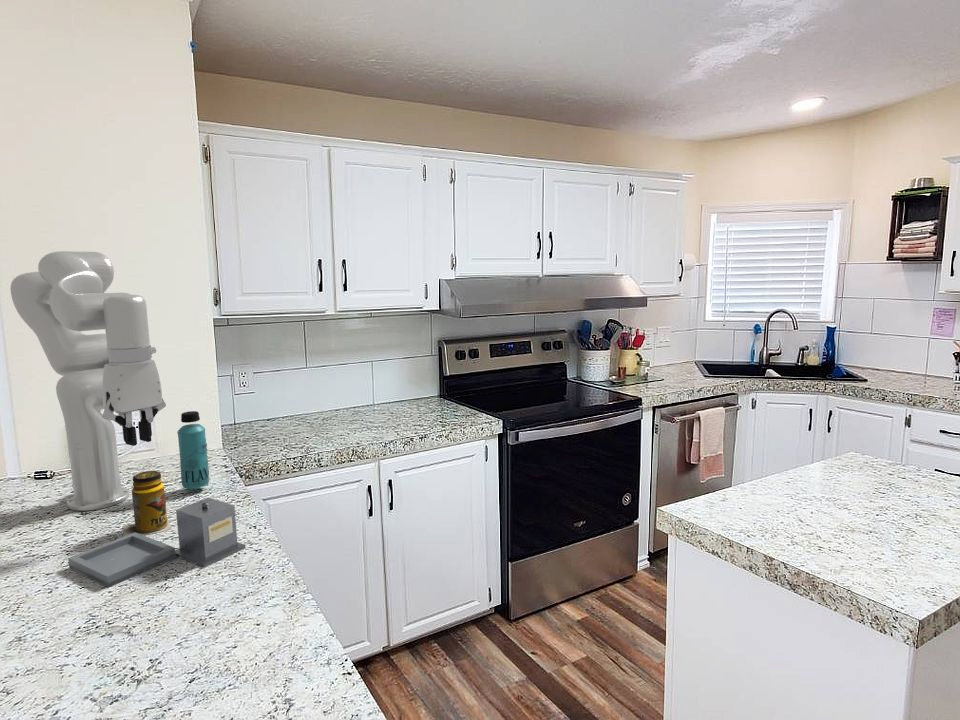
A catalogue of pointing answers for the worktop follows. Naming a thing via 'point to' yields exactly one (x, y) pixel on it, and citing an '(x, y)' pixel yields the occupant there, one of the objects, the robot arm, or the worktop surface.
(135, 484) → the condiment
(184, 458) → the beverage bottle
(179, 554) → the block
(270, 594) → the worktop surface
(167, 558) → the tray
